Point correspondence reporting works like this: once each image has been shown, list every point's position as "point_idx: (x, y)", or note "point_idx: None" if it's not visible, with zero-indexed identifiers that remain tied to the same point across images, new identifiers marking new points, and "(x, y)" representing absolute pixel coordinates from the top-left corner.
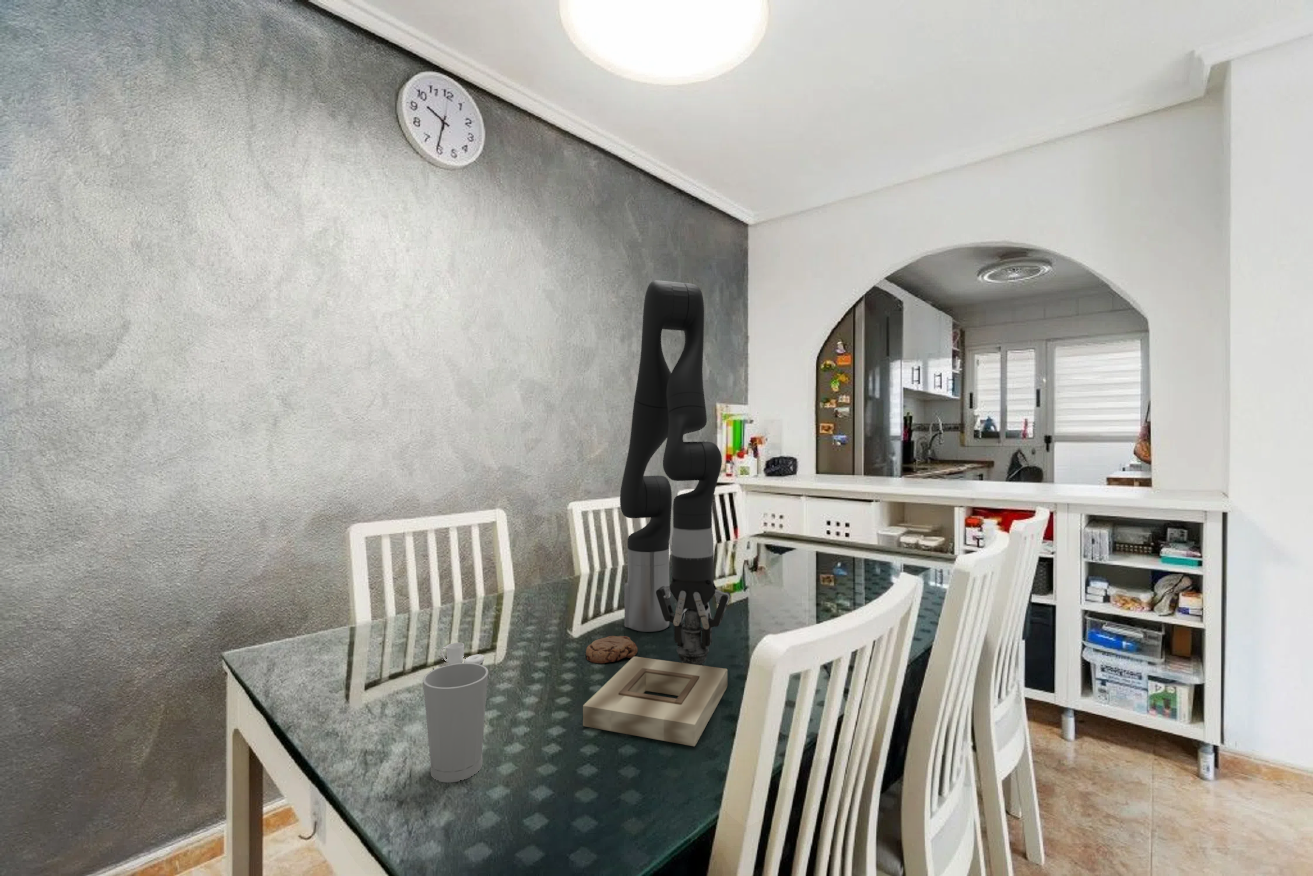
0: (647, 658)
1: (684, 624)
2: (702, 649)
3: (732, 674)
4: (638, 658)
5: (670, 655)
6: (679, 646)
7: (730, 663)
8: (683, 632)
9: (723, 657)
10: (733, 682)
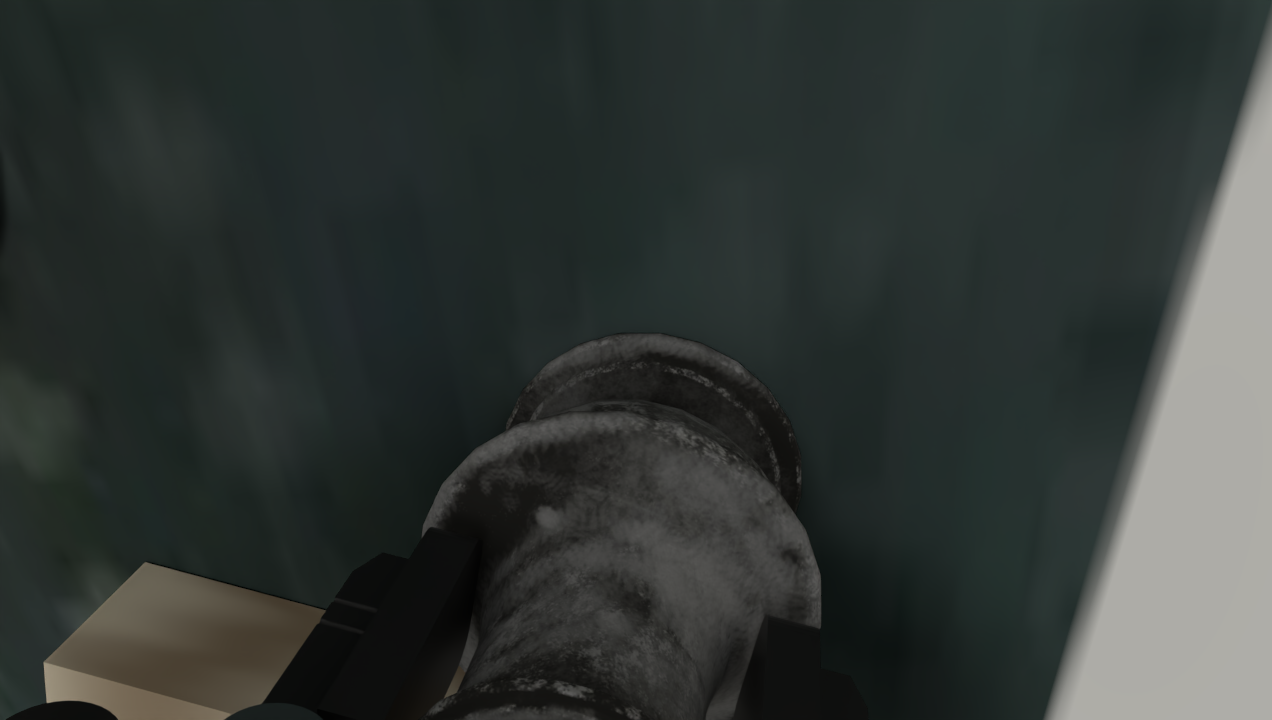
0: (186, 710)
1: (388, 708)
2: (736, 683)
3: (1064, 560)
4: (105, 704)
5: (347, 106)
6: (435, 514)
7: (1089, 286)
8: (424, 671)
9: (1022, 98)
10: (1046, 712)
